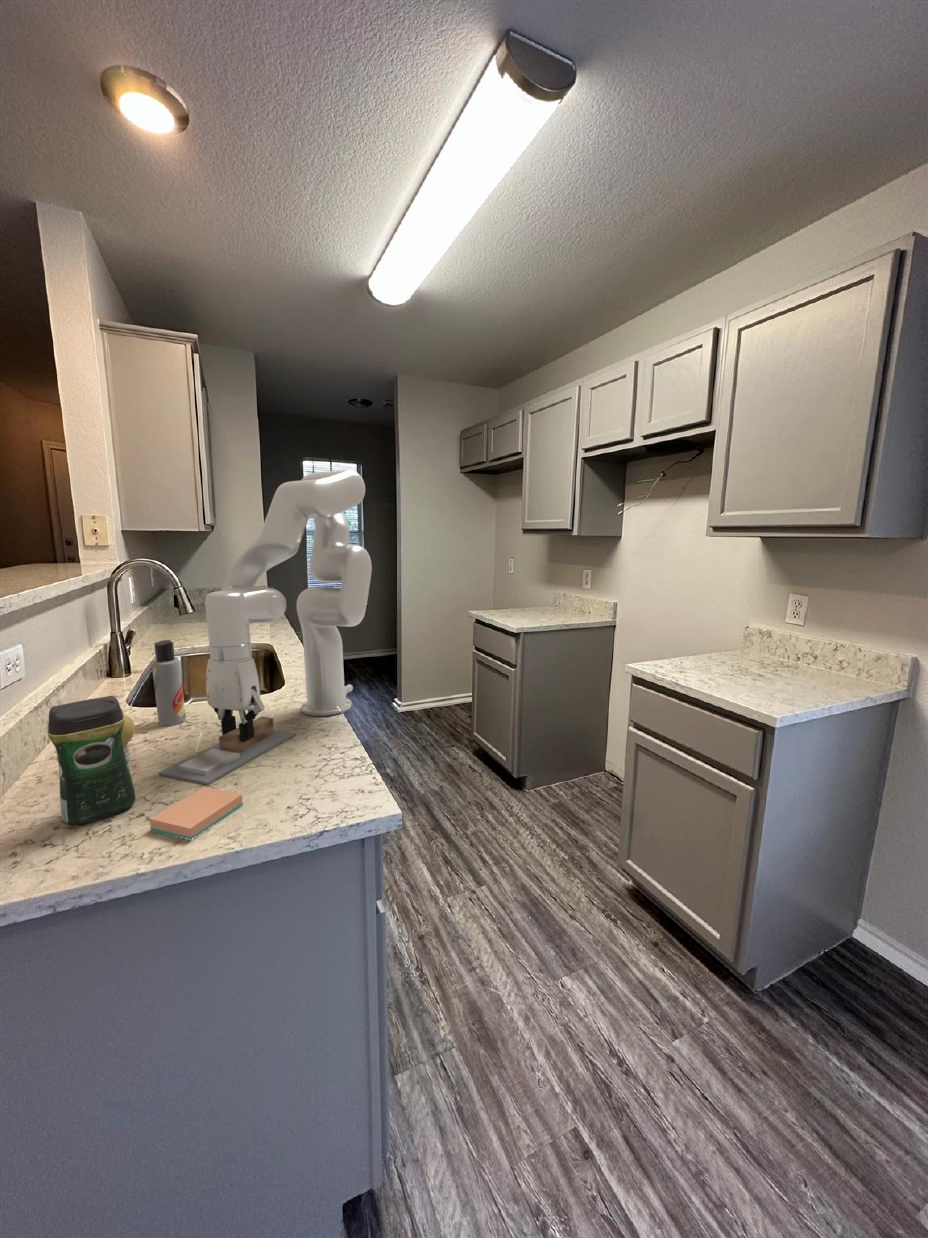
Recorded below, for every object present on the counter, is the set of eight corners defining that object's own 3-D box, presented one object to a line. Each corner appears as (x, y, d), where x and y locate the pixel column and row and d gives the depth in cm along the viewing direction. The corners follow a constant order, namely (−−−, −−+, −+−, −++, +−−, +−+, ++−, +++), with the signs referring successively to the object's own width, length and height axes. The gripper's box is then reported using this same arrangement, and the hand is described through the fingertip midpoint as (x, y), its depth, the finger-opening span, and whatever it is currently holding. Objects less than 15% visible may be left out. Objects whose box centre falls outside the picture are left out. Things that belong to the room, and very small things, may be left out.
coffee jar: (131, 791, 85) (118, 688, 82) (139, 809, 79) (125, 699, 76) (59, 812, 78) (42, 701, 75) (63, 833, 72) (45, 715, 70)
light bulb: (94, 773, 91) (87, 723, 90) (104, 760, 97) (97, 712, 95) (134, 767, 94) (128, 718, 92) (141, 754, 100) (135, 707, 98)
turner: (256, 730, 110) (254, 715, 109) (281, 734, 108) (280, 719, 107) (178, 769, 91) (176, 751, 91) (206, 775, 89) (204, 756, 89)
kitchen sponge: (204, 787, 82) (149, 818, 73) (242, 794, 79) (190, 828, 70) (205, 800, 82) (151, 833, 73) (243, 808, 80) (191, 843, 70)
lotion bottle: (191, 718, 120) (182, 638, 117) (175, 726, 114) (166, 643, 111) (169, 717, 120) (160, 638, 117) (153, 726, 115) (143, 643, 112)
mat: (253, 728, 113) (253, 726, 113) (296, 734, 109) (296, 732, 109) (159, 775, 90) (158, 772, 90) (208, 785, 86) (207, 782, 86)
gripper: (183, 653, 97) (192, 740, 100) (249, 659, 91) (257, 751, 94) (214, 645, 104) (221, 726, 107) (277, 651, 98) (283, 736, 101)
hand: (238, 737), depth 101 cm, fingers open, 4 cm apart
